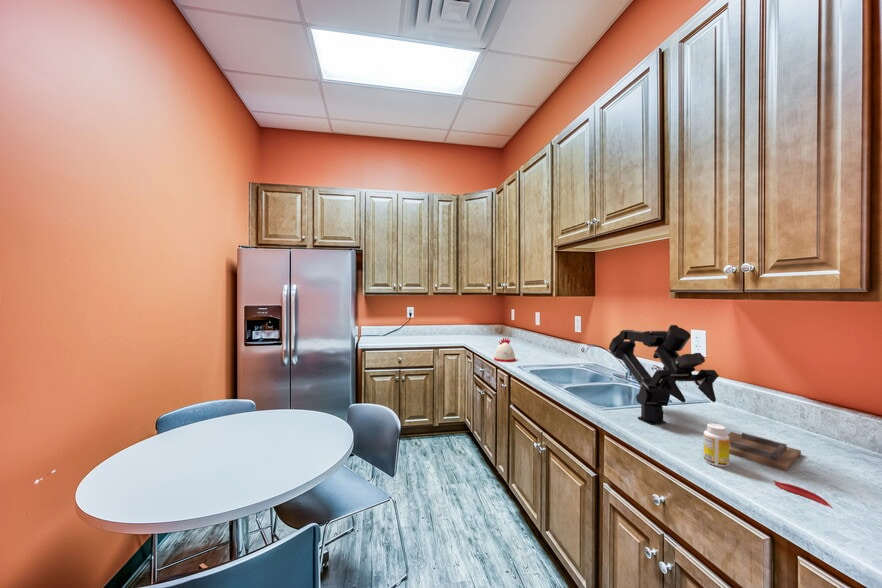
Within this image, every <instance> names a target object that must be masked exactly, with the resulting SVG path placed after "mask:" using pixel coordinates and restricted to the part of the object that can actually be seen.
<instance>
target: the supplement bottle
mask: <svg viewBox="0 0 882 588" xmlns="http://www.w3.org/2000/svg"><path fill="white" fill-rule="evenodd" d="M726 432H727V431H726V427H725V426H724V425H721V424H717V423H713V422H712V423H707V425H706V429H705V430H704V431H703V460H704V461H705V462H706V463H707V464H709V465H711V464H712V465H711V466H714V465H715V466H716V467H719V468H727V467H729V466H730V454H729V436H728V435H727V434H728V433H726Z"/></svg>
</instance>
